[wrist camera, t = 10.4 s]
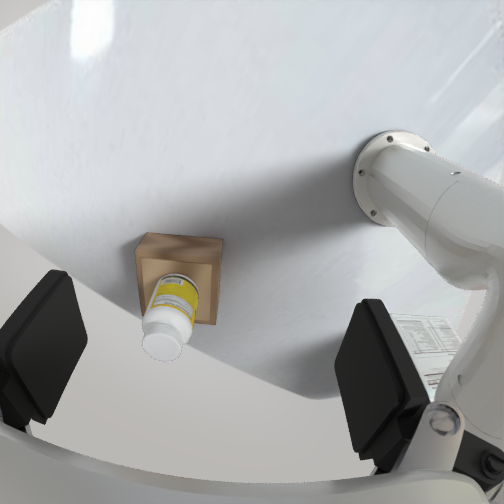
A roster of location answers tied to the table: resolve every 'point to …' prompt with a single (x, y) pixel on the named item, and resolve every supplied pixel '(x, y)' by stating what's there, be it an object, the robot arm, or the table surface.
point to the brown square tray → (181, 268)
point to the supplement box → (428, 346)
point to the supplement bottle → (170, 317)
